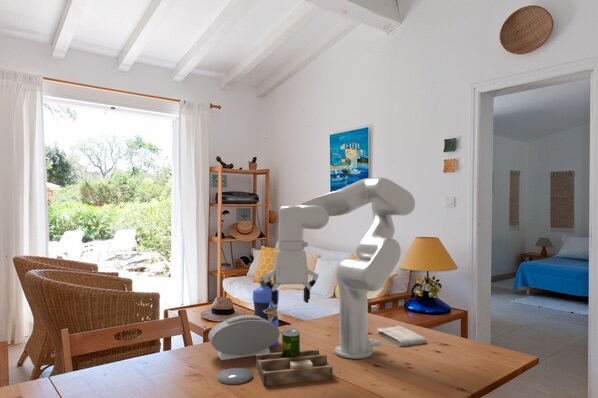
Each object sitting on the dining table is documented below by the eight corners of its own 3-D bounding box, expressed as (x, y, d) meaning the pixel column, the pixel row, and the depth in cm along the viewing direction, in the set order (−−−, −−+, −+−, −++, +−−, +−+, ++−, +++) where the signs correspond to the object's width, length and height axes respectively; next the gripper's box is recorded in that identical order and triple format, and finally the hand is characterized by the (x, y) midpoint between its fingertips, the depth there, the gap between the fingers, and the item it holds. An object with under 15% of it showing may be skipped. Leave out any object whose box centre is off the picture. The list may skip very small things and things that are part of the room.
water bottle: (247, 343, 157) (247, 274, 157) (268, 338, 163) (268, 271, 163) (263, 349, 150) (263, 277, 150) (284, 343, 156) (284, 274, 156)
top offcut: (310, 368, 127) (310, 360, 127) (312, 372, 125) (312, 363, 125) (290, 370, 126) (290, 361, 126) (292, 374, 123) (292, 365, 123)
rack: (318, 361, 138) (318, 345, 138) (332, 378, 125) (332, 361, 125) (256, 367, 133) (256, 351, 133) (263, 385, 120) (263, 367, 120)
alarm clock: (273, 347, 153) (273, 310, 153) (279, 352, 147) (279, 314, 147) (207, 355, 144) (207, 317, 144) (211, 362, 138) (211, 321, 138)
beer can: (290, 365, 135) (290, 326, 135) (303, 369, 132) (303, 329, 132) (278, 370, 131) (278, 330, 131) (291, 374, 128) (291, 333, 128)
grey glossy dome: (250, 369, 132) (250, 366, 132) (255, 382, 122) (255, 379, 122) (216, 372, 129) (216, 369, 129) (219, 386, 120) (219, 383, 120)
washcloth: (399, 331, 174) (399, 323, 174) (428, 344, 157) (428, 336, 157) (373, 334, 169) (373, 326, 169) (400, 348, 153) (400, 339, 153)
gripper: (314, 244, 138) (314, 298, 138) (260, 245, 134) (260, 301, 133) (321, 247, 131) (321, 304, 130) (265, 248, 126) (264, 307, 126)
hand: (290, 302), depth 132 cm, fingers open, 9 cm apart
